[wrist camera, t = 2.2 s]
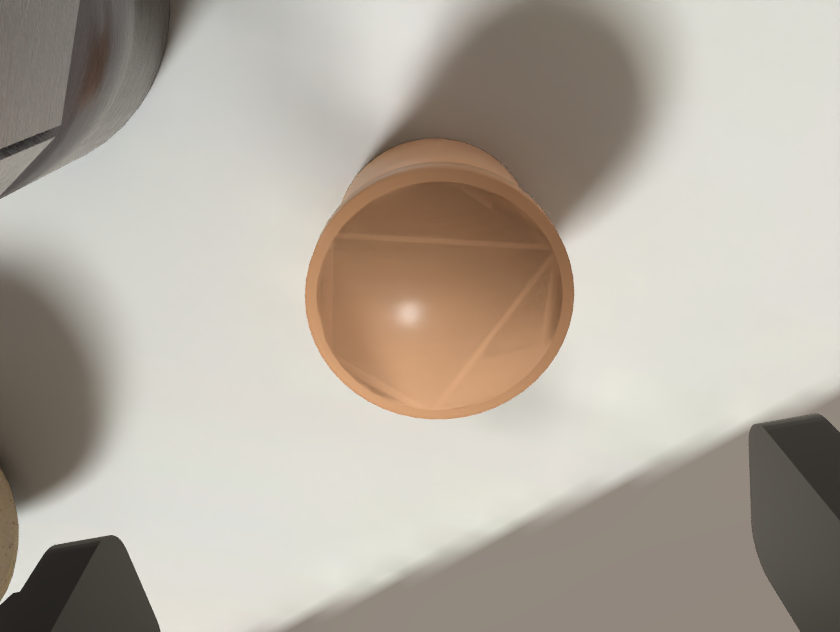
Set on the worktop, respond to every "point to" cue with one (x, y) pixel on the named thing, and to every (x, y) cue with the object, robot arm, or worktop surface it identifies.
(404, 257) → the cap
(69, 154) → the canister
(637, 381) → the worktop surface
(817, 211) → the worktop surface
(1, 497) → the ceramic mug
